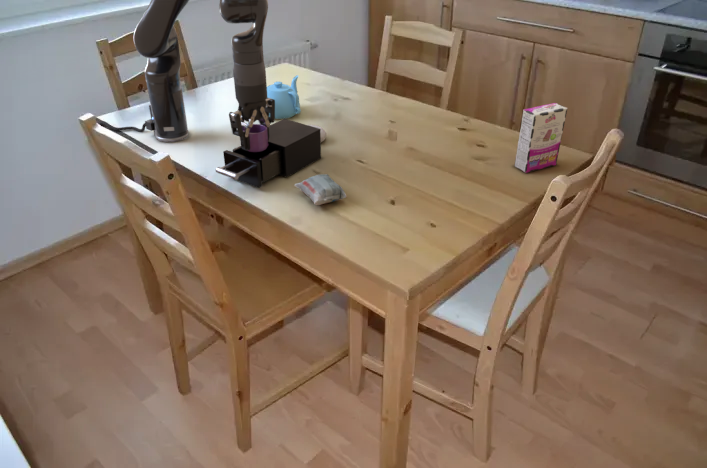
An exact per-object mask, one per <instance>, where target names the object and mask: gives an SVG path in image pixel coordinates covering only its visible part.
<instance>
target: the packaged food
mask: <svg viewBox="0 0 707 468" xmlns="http://www.w3.org/2000/svg"><path fill="white" fill-rule="evenodd" d="M293 186H294V187H296V188H297V189H299V190H300V191H301V192H302V193H304V195H306V196H307V197H308V198H310V200H311V201H312V202H313V205H314V206H320V205H323V204H329V203H332V202H338V201H340V200H343V199H346V198H347V197H348V196H347V194H346V192H345V190H344V189H343V187H342V186H341V185H339V184H338V183H337V182H336V181H335V180H334V179H332V178H331V177H330V175H329V174H327V173H322V174H321V173H319V174H316V175H312V176H310V177H307V178H306V179H303V180H302V181H300V182H297V183H294V184H293Z"/></svg>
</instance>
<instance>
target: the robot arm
mask: <svg viewBox="0 0 707 468" xmlns="http://www.w3.org/2000/svg"><path fill="white" fill-rule="evenodd" d="M189 2H190V0H150V2H149V4H148V7H147V8H146V10H145V12H144V13H143V15H142V17H141V18H140V21H139V22H138V23H137V25H136V28H135V29H134V33H133V44H134V48H135V49H136V51H137V52H138V53H139V55H141V56H142V57H144V58H147V62H146V63H147V64H146V66H145V69H144V77H145V82H146V88H147V92H148V98H149V104H148V109H149V114H150V119H147V120H144V122H143V124H142V127H141V128H138V127H136V126H122V127H118V126H117V127H116V126H112V125H111V124H110V123H108V122H106V121H104V120H102V121H100V122H99V123H98V124H100V125H101V126H102V125H104V126H106V127H107V128H109V129H111V130H113V131H119V132H120V131H129V130H131V131H132V130H133V131H136V132H138V133H143V132H144V131H145V130H148V131H151V132H153V136H154V137H155V139H156V140H157V141H158V142H159V141H160V142H163V143H175V142H180V141H183V140H185V139H187V138H188V137H189V136H190V132H189V128H188V120H187V114H186V113H187V112H186V107H185V100H184V94H183V87H182V80H181V74H180V70H181V65H182V63H181V62H182V61H181V53H180V43H179V37H178V32H177V29H176V28H175V26H174V25H175V23H176V21H177V18H178V17H179V15H180V13H181V12H182V11H183V9H184V8H185V7H186V6H187V4H188V3H189ZM218 5H219V6H218V7H219V8H218V9H219V14H220V16H221V18H222V19H223V20H224V21H225V22H226V23H227V24H231V25H236V24H238V25H239V24H252V25H251V27H250V28H249V29H247V30H245V31H242V32H239V33H235V34H234V35H233V36H232V37H231V53H232V73H233V75H232V76H233V83H234V92H235V99H236V101H237V103H238V107H237V110H235V111H234V112H233V111H230V112H229V113H228V119H229V123H230V127H231V133H232V135H233V136H237V137H239V140H240V142H239V143H240V146H241V148H242V149H243V150H246V151H248V150H250V140H249V132H250V129H251V128H252V126H253V124H254V123H256V121H257V122H258V124H261V125H264V126H266V127H267V134H268V141H269V127H270V125H272V124H274V123H275V120H276V119H275V100H274V99H271V98H267V86H268V83H267V71H266V66H265V59H264V57H265V56H264V31H265V26H266V21H267V16H268V10H269V1H268V0H219V4H218ZM269 113H270V117H269ZM245 122H246V123H245ZM244 127H246V128H245V131H243V130H244Z"/></svg>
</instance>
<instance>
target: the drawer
mask: <svg viewBox="0 0 707 468" xmlns="http://www.w3.org/2000/svg"><path fill="white" fill-rule="evenodd" d="M222 153H223V161H224V165H223V166H221V167H220V166H217V167H216V168H215V172H216V173H217V174H220V175H223V176H225V177H228V178H230V179H233V180H237V181H238V182H242V183H244V184H247V185H250V186H252V187H255V188H257V189H260V188H261V187H263V183H265V182H267V181H269V180H271V179H272V178H274V177H277V176H279V175H278V174H280V173H281V172H283V171H284V162H283V149H281V148H278V147H275V146H272V145H269V144H268V147H267V149H265V150H264V151H260V152H249V151H246V150H243V149H242V148H241V145H239V146H237V147H235V148H232V151H231V150H228V149H226V150H223V152H222Z"/></svg>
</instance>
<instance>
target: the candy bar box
mask: <svg viewBox="0 0 707 468" xmlns="http://www.w3.org/2000/svg"><path fill="white" fill-rule="evenodd" d="M568 109H569V108H568V107H566V106H564V105H561V104H559V103H557V102H553V103H548V104H543V105H538V106H534V107H529V108H524V109H523V110H522V116H521V122H520V128H519V136H518V141H517V147H516V152H515V153H516V154H515V160H514V167H515V168H516V169H517V170H519V171H522V172H523V173H525V174H527V173H532V172H535V171H539V170H542V169H546V168H549V167H554V166H556V165H557V161H558V159H559V152H560V147H561V143H562V138H563V133H564V127H565V123H566V118H567V112H568Z"/></svg>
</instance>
